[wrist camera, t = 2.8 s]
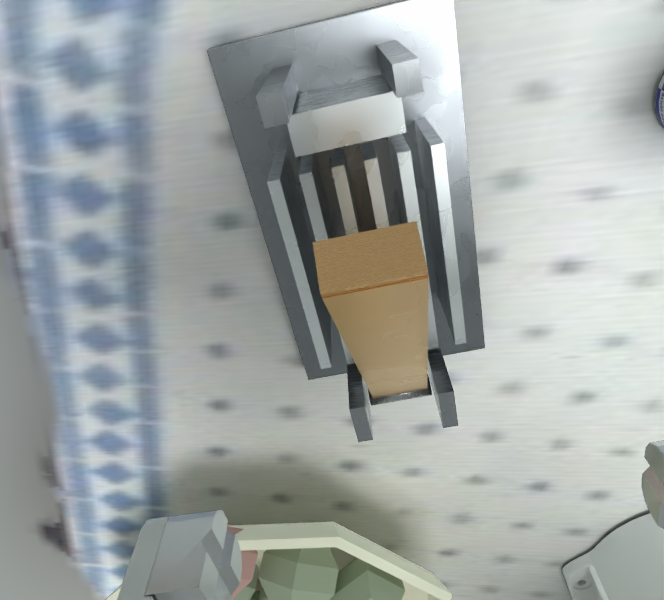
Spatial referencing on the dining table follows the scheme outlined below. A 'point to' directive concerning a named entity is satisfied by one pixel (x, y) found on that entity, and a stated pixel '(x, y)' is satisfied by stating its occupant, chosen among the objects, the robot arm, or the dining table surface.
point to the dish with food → (324, 566)
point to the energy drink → (660, 102)
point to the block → (380, 306)
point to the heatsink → (359, 167)
